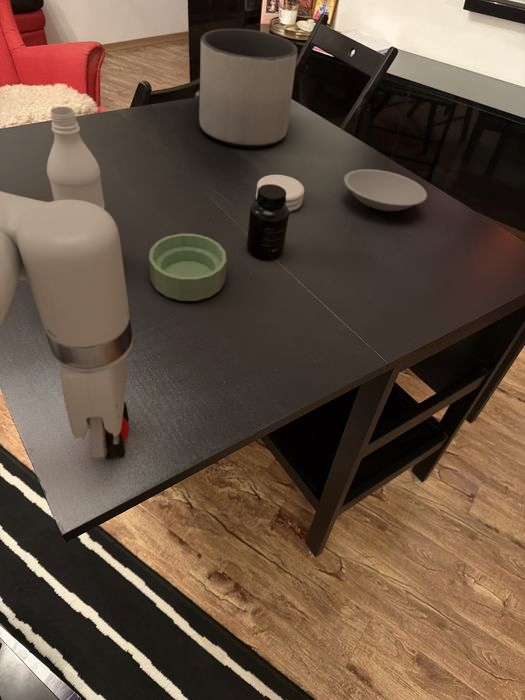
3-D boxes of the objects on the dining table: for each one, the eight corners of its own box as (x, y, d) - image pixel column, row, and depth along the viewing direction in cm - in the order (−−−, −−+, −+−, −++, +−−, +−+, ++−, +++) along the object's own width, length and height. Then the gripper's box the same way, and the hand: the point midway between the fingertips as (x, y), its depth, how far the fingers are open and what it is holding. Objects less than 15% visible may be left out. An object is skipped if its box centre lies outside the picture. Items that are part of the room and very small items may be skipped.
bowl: (149, 303, 76) (147, 278, 72) (153, 256, 84) (151, 232, 80) (226, 304, 77) (228, 279, 74) (222, 258, 86) (224, 234, 82)
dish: (418, 199, 108) (426, 179, 105) (419, 233, 99) (428, 211, 95) (342, 184, 110) (347, 163, 106) (335, 215, 100) (340, 193, 96)
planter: (212, 107, 132) (215, 22, 118) (292, 123, 131) (304, 38, 116) (187, 140, 117) (186, 46, 102) (278, 158, 115) (290, 65, 101)
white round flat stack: (255, 186, 104) (257, 171, 102) (300, 191, 105) (303, 176, 103) (255, 211, 98) (257, 195, 95) (303, 215, 98) (306, 200, 96)
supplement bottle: (240, 242, 90) (245, 182, 81) (273, 237, 92) (282, 178, 83) (254, 264, 85) (261, 203, 77) (289, 258, 88) (299, 198, 79)
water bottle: (123, 265, 81) (103, 111, 63) (91, 285, 77) (60, 127, 59) (92, 248, 83) (64, 96, 65) (59, 268, 79) (20, 109, 61)
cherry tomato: (94, 454, 57) (88, 434, 54) (98, 425, 59) (93, 405, 56) (129, 452, 57) (125, 433, 54) (131, 425, 60) (128, 404, 57)
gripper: (64, 275, 50) (91, 385, 63) (28, 405, 39) (70, 505, 52) (137, 277, 51) (149, 384, 64) (123, 403, 40) (140, 501, 53)
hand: (113, 437), depth 58 cm, fingers closed on cherry tomato, 3 cm apart
